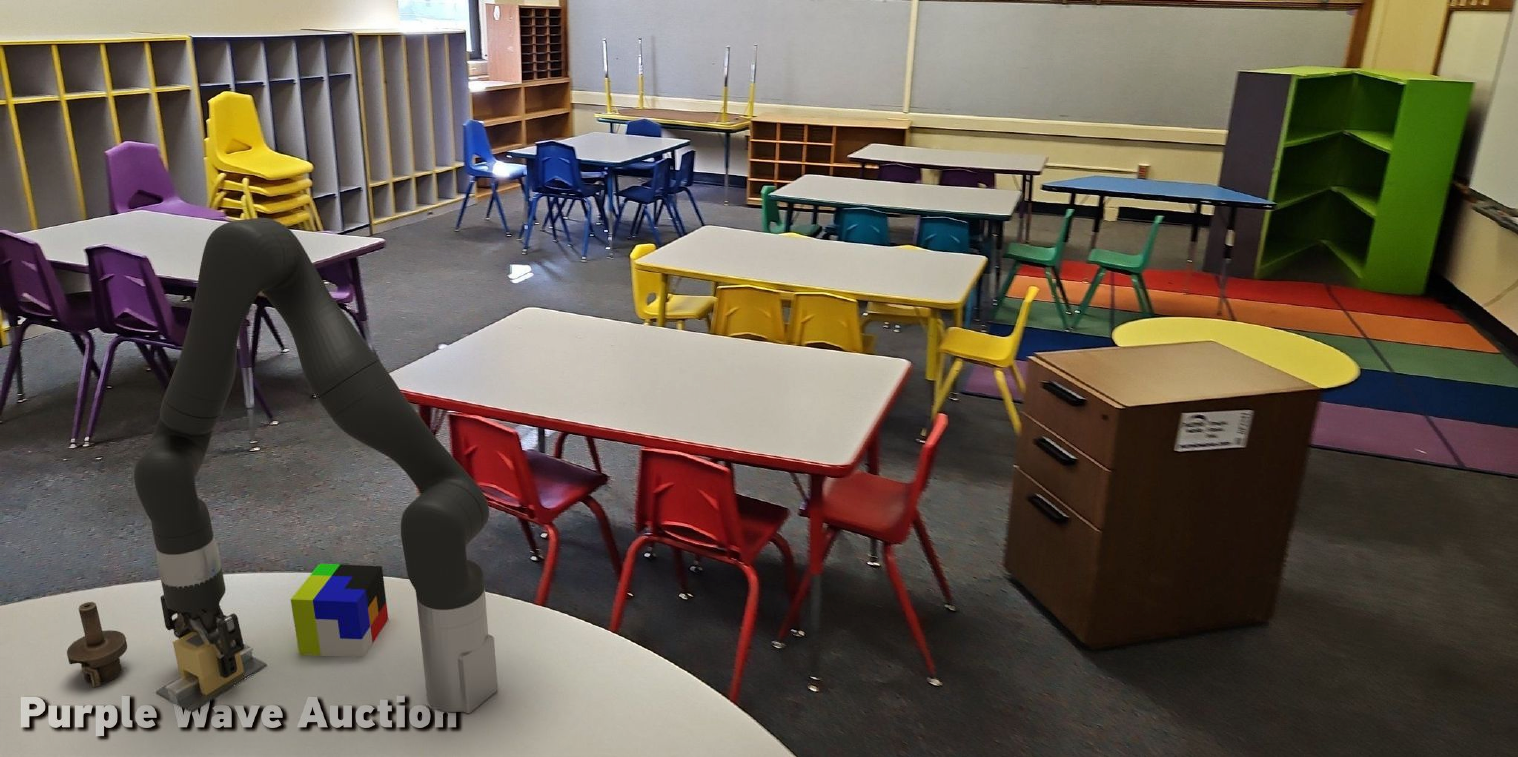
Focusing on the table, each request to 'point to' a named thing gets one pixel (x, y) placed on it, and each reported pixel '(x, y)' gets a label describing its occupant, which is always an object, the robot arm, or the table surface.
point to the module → (202, 661)
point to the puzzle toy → (340, 610)
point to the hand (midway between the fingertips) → (210, 665)
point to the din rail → (188, 686)
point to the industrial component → (97, 648)
